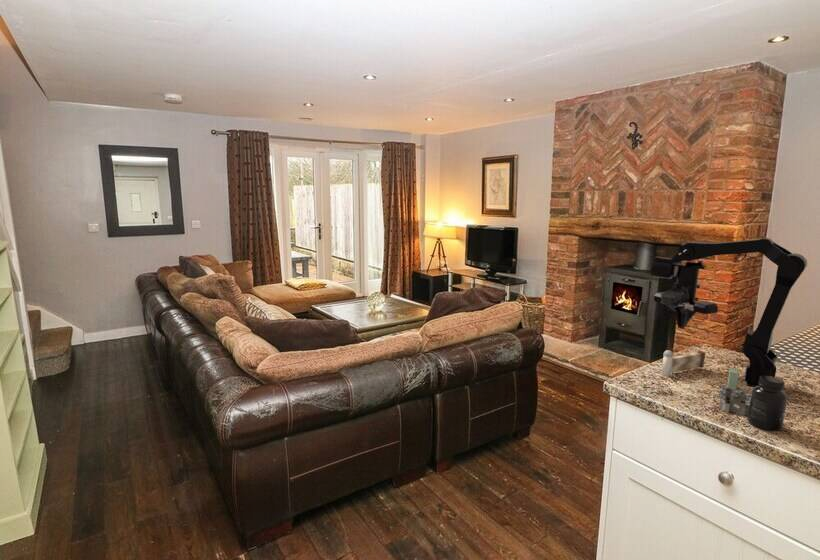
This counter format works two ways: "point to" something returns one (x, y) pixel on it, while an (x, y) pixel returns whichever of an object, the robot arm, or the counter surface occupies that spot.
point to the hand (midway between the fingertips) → (680, 328)
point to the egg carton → (734, 400)
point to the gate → (688, 361)
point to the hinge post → (667, 363)
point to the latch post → (733, 378)
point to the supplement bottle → (768, 404)
